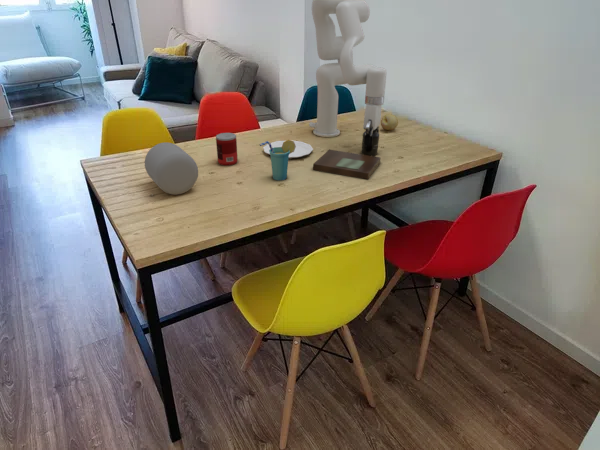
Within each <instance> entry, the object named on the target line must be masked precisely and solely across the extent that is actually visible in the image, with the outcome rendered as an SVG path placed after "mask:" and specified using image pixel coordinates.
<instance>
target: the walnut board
mask: <svg viewBox="0 0 600 450" xmlns="http://www.w3.org/2000/svg"><path fill="white" fill-rule="evenodd" d="M380 164H381V157H380V156H376V155H374V156H368V155H364V154H362V153H355V152H350V151H349V152H348V151H342V150H337V149H336V150H335V149H328V150H327V151H326V152H324V154H323V155H321V157H319V158H318V159H317V160H316V161H314V163H313V164H312V169H313V171H318V172H323V173H329V174H334V175H341V176H346V177H351V178H358V179H364V180H369V179H370V178H371V176H372V175H373V174H374V172H375V171H376V169H378V167H379V166H380Z"/></svg>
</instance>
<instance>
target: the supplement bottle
mask: <svg viewBox="0 0 600 450" xmlns="http://www.w3.org/2000/svg"><path fill="white" fill-rule="evenodd" d="M377 131H378V127H377V128H376V129H375V130H373V134H372V136H373V141H372V145H365V144H364V141H365V131H364V132H362V138H361V139H362V140H361V151H360V152H361V154H362V155H368V156H376V155H377V154H378V151H379V141H380V132H379V133H378V132H377ZM370 132H371V130H370Z"/></svg>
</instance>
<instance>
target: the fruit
mask: <svg viewBox="0 0 600 450" xmlns="http://www.w3.org/2000/svg"><path fill="white" fill-rule="evenodd" d="M398 124H399V119H398V117H397V116H396V115H394V114H393V113H386V114H384V115H383V116H382V117H381V120H380V126H381V128H382V130H384V131H388V132H390V131H393V130H395V129H396V128H397V127H398Z"/></svg>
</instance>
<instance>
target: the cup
mask: <svg viewBox="0 0 600 450" xmlns="http://www.w3.org/2000/svg"><path fill="white" fill-rule="evenodd" d="M286 140H287V141H286ZM286 140H284V141H285V142H283V145H282V147H274V148H272V146H271V143H272V142H270V141H269V140H267V141H264V142H262V143H259V147H262V146H263V147H264V146H266V145H267V144H269V147H270V150H269V153H270V154H269V155H270V164H271V173H272V179H273V180H275V181H284V180H286V179H287V178H288V170H289V169H288V168H289V166H288V165H289V159H290V158H289V154H290V153H292V152H294V150H295V147H296V146H295V143H294V141H295V140H293V141H291V140H292V139H286Z"/></svg>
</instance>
